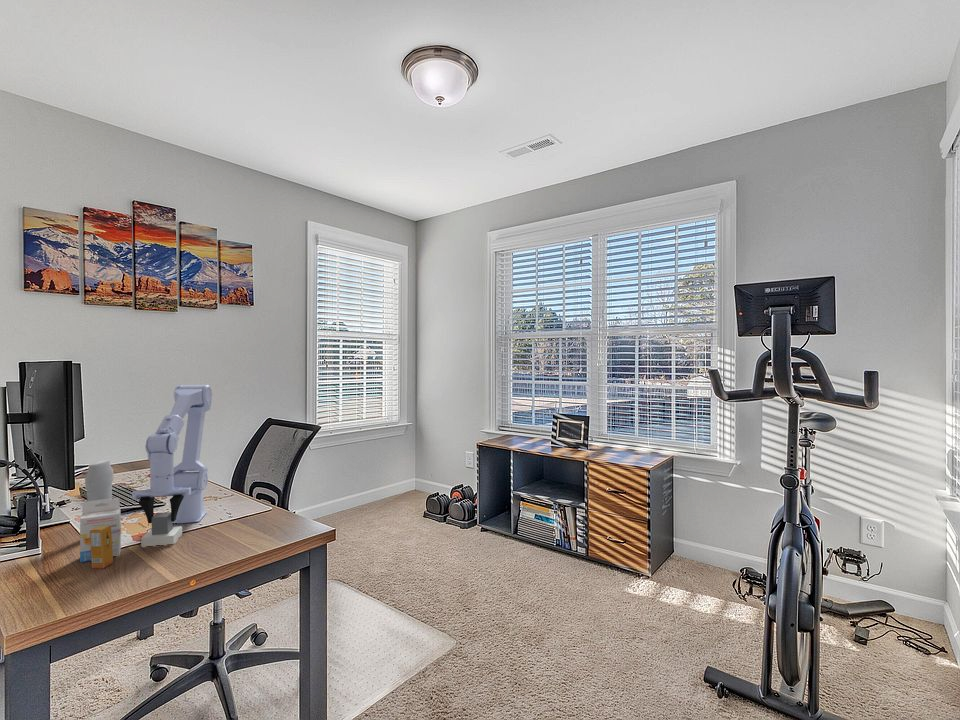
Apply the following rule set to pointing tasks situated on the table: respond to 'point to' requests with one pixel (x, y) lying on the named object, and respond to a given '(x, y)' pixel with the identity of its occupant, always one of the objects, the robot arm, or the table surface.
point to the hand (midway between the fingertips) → (162, 521)
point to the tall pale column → (99, 482)
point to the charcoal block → (161, 523)
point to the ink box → (100, 524)
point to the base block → (161, 537)
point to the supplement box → (101, 546)
